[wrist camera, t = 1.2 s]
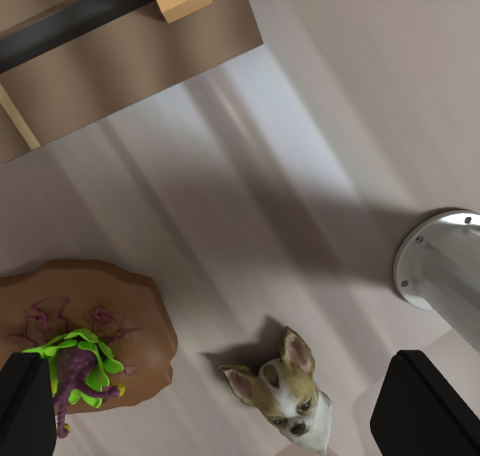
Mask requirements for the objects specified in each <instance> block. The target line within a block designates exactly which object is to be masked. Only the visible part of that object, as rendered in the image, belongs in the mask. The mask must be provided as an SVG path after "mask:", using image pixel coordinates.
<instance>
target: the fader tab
mask: <svg viewBox="0 0 480 456" xmlns="http://www.w3.org/2000/svg"><path fill="white" fill-rule="evenodd" d="M156 1H157V3H158V5H159V7H160V10H161V12H162V14H163V15H164V17H165V19H166V20H167V22H168V24H169V23H171V22H173V21H175V20H177V19H180V18H182V17H184V16H186V15H188V14H190V13H192V12H194V11H197V10H199V9H201V8H203V7H205V6H207V5H209V4H211V3H212V1H213V0H156Z"/></svg>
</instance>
